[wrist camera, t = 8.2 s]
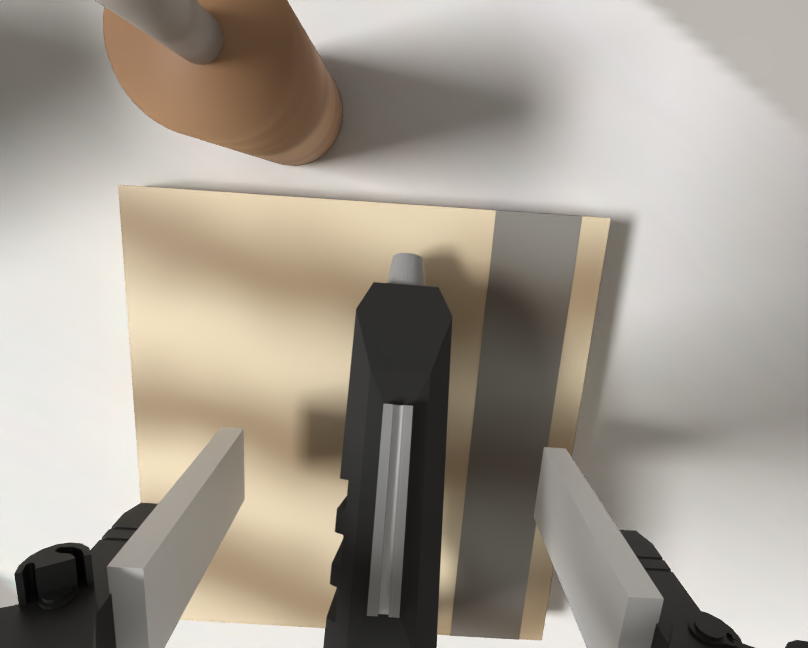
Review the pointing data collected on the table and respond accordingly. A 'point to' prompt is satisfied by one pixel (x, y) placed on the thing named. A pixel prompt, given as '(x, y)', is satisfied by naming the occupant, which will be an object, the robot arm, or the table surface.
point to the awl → (226, 74)
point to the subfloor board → (329, 381)
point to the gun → (393, 467)
